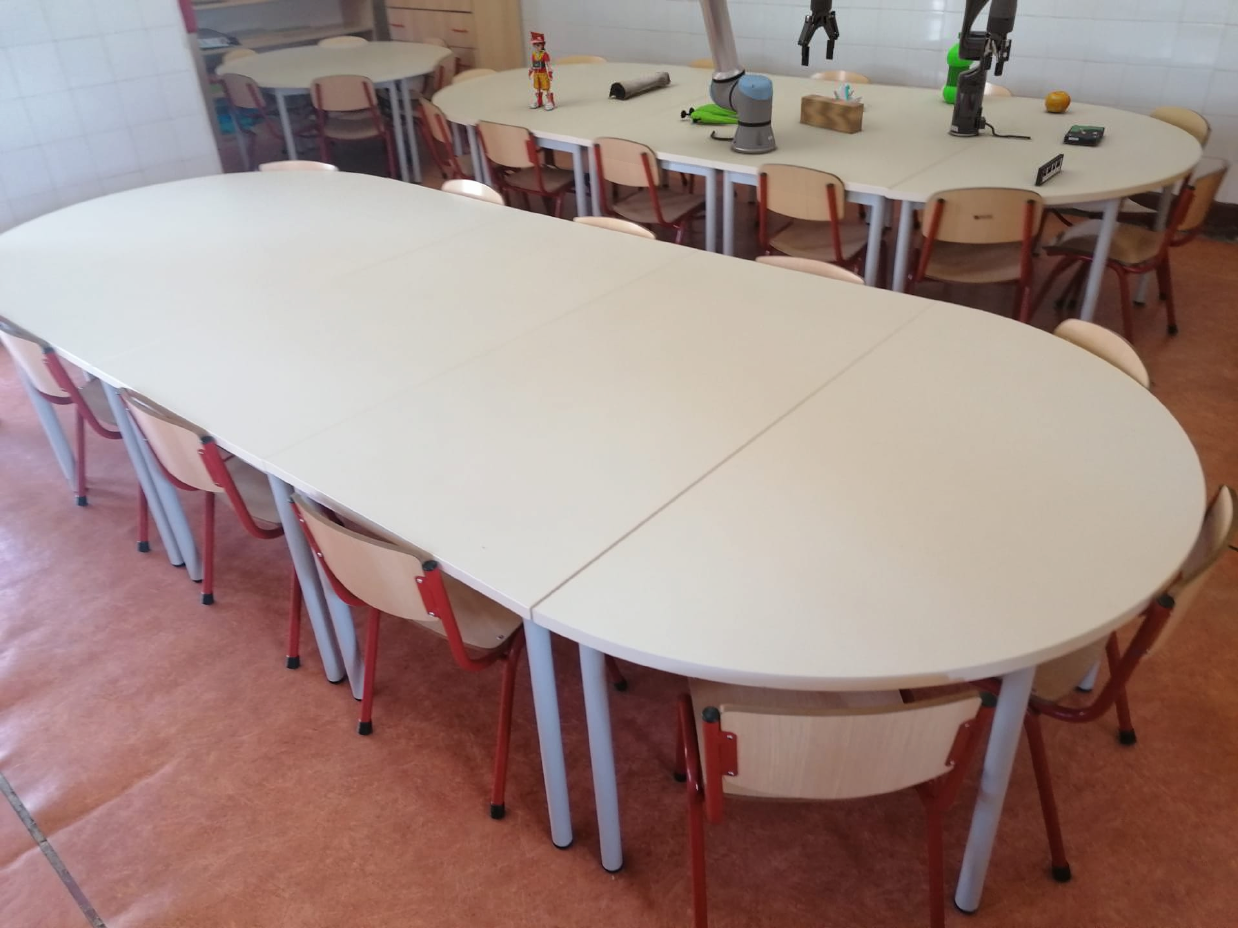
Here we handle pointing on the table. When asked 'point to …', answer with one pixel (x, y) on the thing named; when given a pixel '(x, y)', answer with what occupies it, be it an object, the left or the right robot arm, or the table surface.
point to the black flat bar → (1049, 169)
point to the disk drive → (1084, 135)
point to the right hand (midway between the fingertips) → (992, 73)
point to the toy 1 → (541, 71)
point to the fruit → (1057, 101)
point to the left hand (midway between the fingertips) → (817, 62)
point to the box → (831, 113)
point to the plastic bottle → (954, 72)
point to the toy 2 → (710, 114)
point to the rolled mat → (638, 84)
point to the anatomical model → (846, 94)
